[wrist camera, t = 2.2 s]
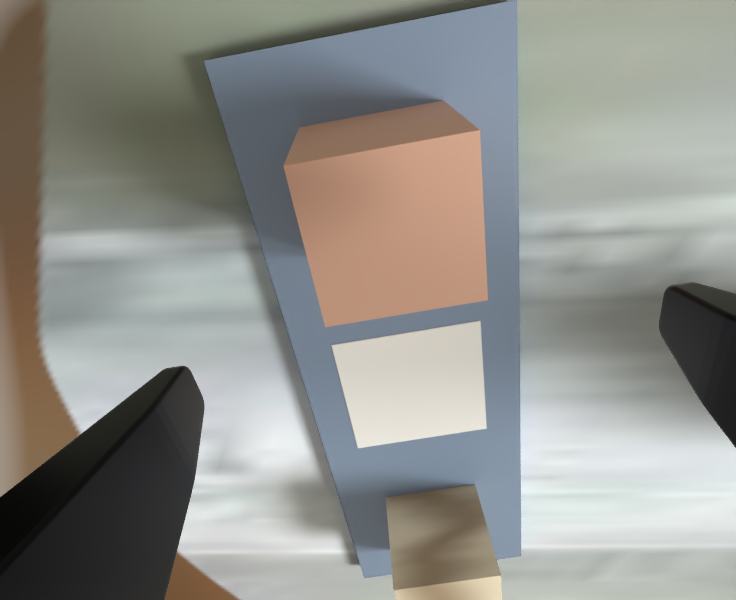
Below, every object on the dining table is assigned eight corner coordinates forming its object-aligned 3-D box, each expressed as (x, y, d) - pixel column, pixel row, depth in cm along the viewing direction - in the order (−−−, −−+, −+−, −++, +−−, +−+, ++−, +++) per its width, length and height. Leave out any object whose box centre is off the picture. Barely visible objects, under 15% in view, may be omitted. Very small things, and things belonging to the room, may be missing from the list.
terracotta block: (443, 100, 16) (480, 129, 12) (454, 235, 19) (488, 300, 14) (299, 127, 16) (283, 166, 12) (329, 257, 19) (325, 327, 15)
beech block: (475, 484, 26) (500, 575, 22) (479, 538, 29) (503, 629, 25) (385, 497, 27) (393, 590, 22) (397, 549, 29) (407, 642, 25)
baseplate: (509, 0, 15) (517, -1, 15) (517, 544, 31) (521, 556, 30) (209, 59, 16) (203, 61, 15) (363, 565, 31) (364, 578, 30)
